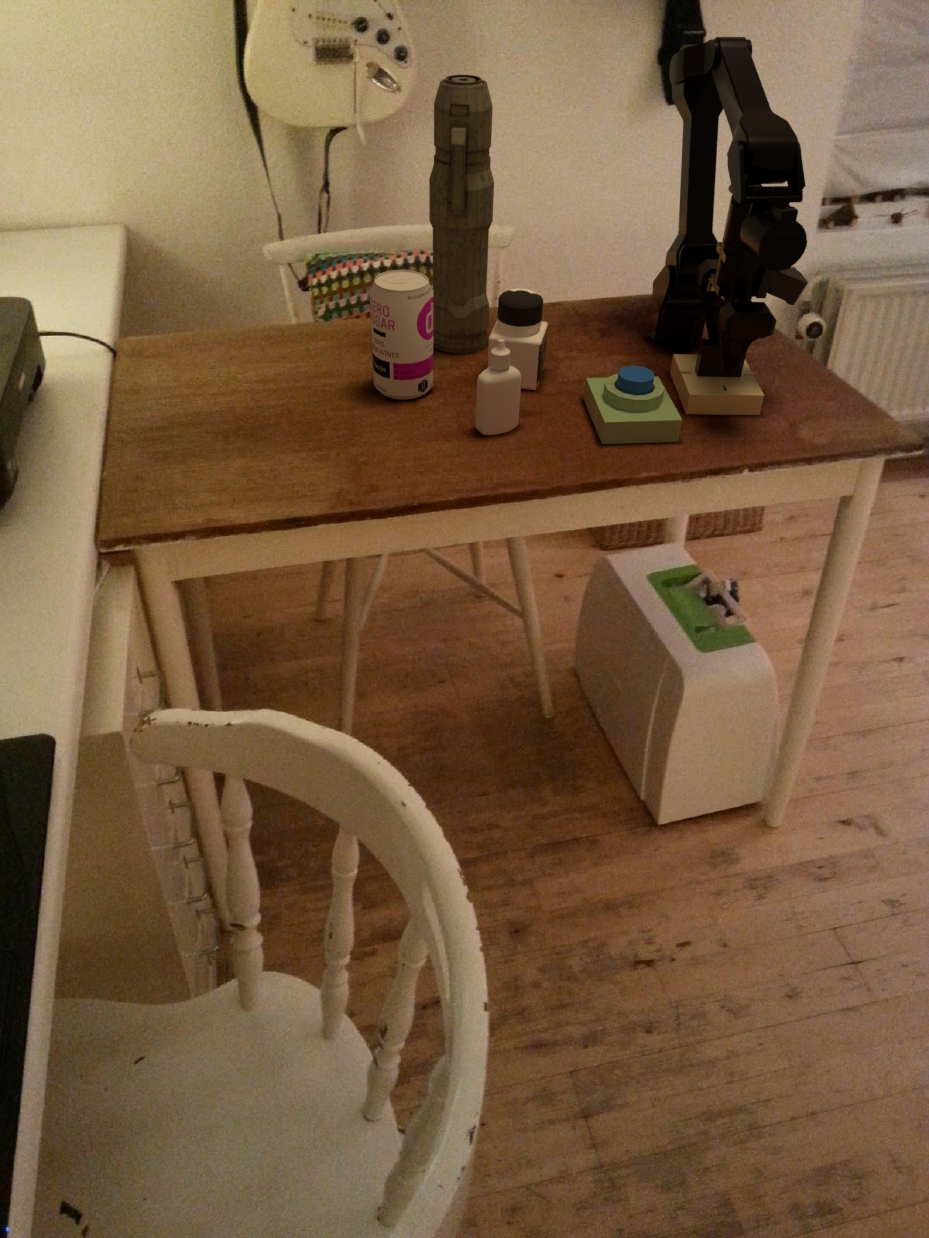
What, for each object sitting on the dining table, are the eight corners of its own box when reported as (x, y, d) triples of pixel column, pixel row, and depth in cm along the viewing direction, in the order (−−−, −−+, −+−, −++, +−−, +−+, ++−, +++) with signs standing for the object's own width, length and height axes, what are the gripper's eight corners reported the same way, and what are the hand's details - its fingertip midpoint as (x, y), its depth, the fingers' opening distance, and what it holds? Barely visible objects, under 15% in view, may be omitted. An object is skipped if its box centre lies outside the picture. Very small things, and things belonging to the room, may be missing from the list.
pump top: (612, 380, 124) (614, 366, 123) (647, 379, 125) (649, 365, 124) (620, 397, 121) (622, 382, 120) (656, 396, 121) (658, 381, 120)
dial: (697, 376, 129) (703, 343, 126) (694, 369, 131) (700, 337, 128) (740, 377, 130) (748, 344, 126) (737, 370, 131) (745, 338, 128)
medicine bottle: (537, 391, 131) (543, 307, 124) (486, 385, 132) (489, 301, 125) (544, 368, 137) (551, 286, 129) (495, 363, 138) (499, 281, 130)
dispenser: (583, 399, 130) (587, 365, 127) (654, 397, 131) (660, 363, 128) (601, 444, 121) (606, 409, 118) (678, 442, 122) (685, 407, 119)
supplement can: (441, 379, 133) (442, 273, 124) (420, 406, 127) (419, 296, 118) (388, 370, 135) (384, 264, 126) (364, 395, 129) (359, 287, 120)
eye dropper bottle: (474, 419, 125) (477, 332, 117) (517, 420, 125) (523, 333, 117) (475, 436, 122) (478, 348, 114) (519, 436, 122) (525, 348, 114)
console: (669, 373, 137) (672, 352, 135) (739, 374, 137) (744, 354, 135) (684, 414, 128) (689, 393, 125) (760, 415, 128) (765, 394, 126)
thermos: (429, 358, 138) (428, 89, 116) (428, 324, 147) (428, 68, 124) (489, 358, 139) (501, 90, 116) (485, 324, 148) (496, 69, 125)
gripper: (832, 270, 112) (799, 391, 122) (789, 217, 126) (762, 330, 136) (738, 268, 111) (712, 390, 122) (706, 215, 125) (685, 329, 136)
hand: (720, 358), depth 129 cm, fingers open, 9 cm apart
